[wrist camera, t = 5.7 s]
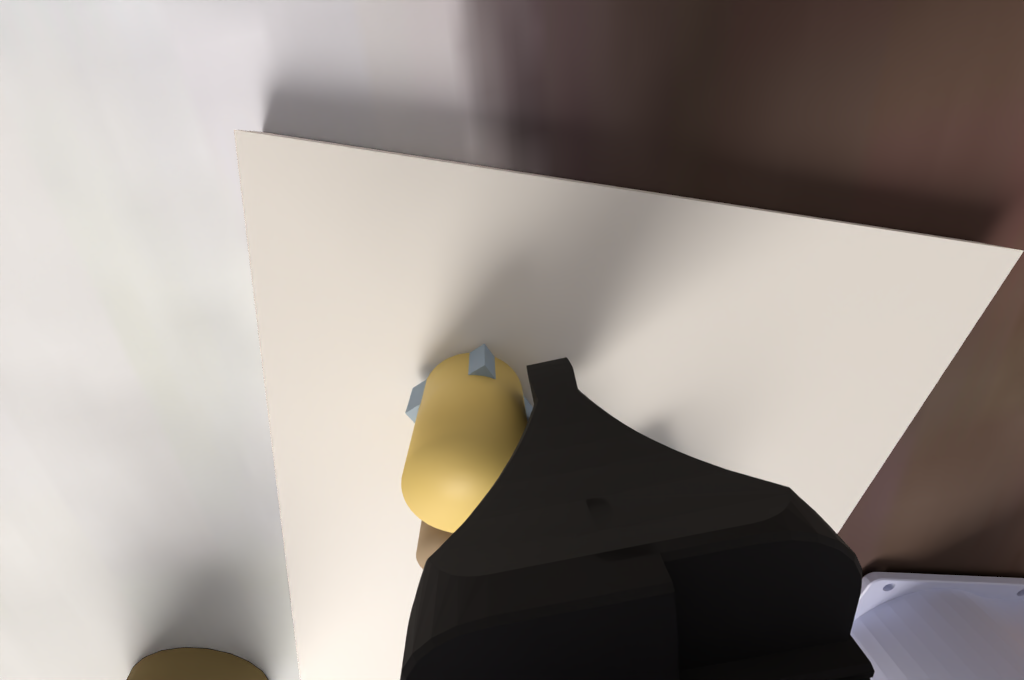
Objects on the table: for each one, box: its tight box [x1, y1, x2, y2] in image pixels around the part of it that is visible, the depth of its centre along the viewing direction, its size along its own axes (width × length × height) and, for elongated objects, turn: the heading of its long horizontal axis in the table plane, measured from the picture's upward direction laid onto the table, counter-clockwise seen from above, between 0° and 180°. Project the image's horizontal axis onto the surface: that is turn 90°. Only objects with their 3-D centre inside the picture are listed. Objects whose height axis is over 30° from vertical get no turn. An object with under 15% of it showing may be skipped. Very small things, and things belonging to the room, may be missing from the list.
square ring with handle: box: [401, 344, 533, 533], centre depth 12 cm, size 13×6×3 cm, turn 33°
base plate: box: [234, 130, 1023, 680], centre depth 15 cm, size 20×22×1 cm
